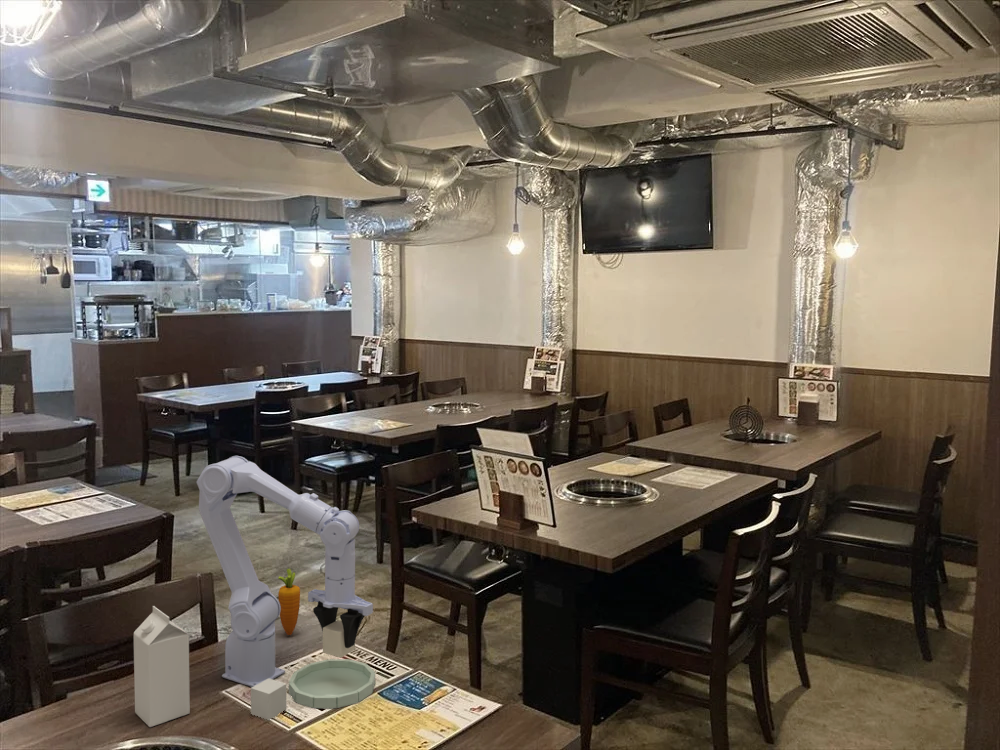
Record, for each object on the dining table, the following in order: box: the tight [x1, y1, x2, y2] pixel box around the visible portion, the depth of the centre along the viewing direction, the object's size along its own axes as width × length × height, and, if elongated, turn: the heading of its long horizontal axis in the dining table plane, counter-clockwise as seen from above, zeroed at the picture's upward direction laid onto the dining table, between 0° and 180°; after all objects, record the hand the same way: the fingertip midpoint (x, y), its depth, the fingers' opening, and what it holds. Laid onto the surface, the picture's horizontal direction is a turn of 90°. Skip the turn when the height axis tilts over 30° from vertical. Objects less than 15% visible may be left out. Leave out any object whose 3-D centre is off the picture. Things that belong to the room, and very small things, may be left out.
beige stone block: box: [322, 619, 356, 659], centre depth 153 cm, size 4×4×5 cm
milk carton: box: [133, 605, 191, 728], centre depth 141 cm, size 7×7×19 cm
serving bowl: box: [288, 658, 376, 709], centre depth 153 cm, size 16×16×2 cm
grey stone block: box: [250, 678, 287, 721], centre depth 143 cm, size 4×4×5 cm
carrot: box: [277, 568, 301, 636], centre depth 175 cm, size 5×5×15 cm
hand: (339, 643), depth 153 cm, fingers closed on beige stone block, 4 cm apart
